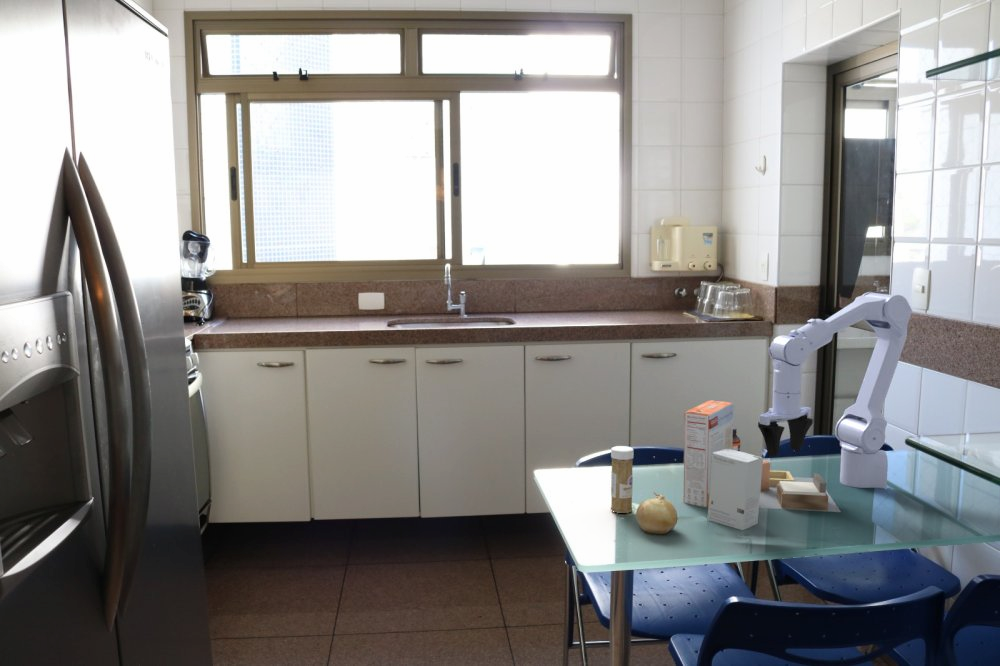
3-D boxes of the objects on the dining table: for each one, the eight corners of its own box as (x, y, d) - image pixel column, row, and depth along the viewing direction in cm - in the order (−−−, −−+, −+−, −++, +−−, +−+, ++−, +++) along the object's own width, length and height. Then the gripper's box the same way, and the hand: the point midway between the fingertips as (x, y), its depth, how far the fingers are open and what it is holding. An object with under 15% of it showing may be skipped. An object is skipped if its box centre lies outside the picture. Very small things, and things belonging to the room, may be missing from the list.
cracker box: (706, 490, 189) (708, 398, 187) (732, 495, 186) (735, 402, 183) (680, 507, 178) (683, 410, 175) (708, 513, 175) (711, 414, 172)
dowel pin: (768, 486, 188) (769, 460, 187) (770, 491, 185) (771, 464, 184) (751, 485, 189) (752, 459, 188) (753, 490, 185) (754, 464, 185)
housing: (820, 499, 180) (821, 485, 179) (827, 510, 173) (828, 496, 172) (776, 497, 181) (776, 483, 181) (781, 508, 174) (782, 494, 174)
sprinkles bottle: (630, 515, 173) (631, 451, 172) (608, 513, 175) (609, 449, 173) (634, 508, 178) (635, 446, 176) (612, 506, 179) (613, 444, 177)
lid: (818, 485, 179) (819, 473, 179) (825, 495, 172) (826, 483, 172) (779, 483, 180) (779, 471, 180) (784, 493, 174) (785, 481, 173)
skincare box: (706, 525, 168) (708, 452, 166) (723, 518, 172) (725, 446, 170) (744, 537, 162) (747, 461, 160) (760, 529, 166) (763, 455, 164)
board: (817, 483, 194) (818, 471, 194) (840, 517, 172) (841, 504, 172) (745, 480, 197) (746, 468, 197) (759, 513, 175) (759, 500, 174)
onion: (684, 535, 163) (685, 499, 162) (647, 540, 160) (647, 504, 159) (665, 521, 170) (665, 487, 169) (628, 525, 168) (629, 491, 167)
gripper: (793, 384, 190) (790, 443, 192) (749, 392, 182) (747, 453, 184) (820, 389, 184) (817, 450, 186) (775, 397, 176) (773, 461, 178)
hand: (784, 452), depth 184 cm, fingers open, 7 cm apart
